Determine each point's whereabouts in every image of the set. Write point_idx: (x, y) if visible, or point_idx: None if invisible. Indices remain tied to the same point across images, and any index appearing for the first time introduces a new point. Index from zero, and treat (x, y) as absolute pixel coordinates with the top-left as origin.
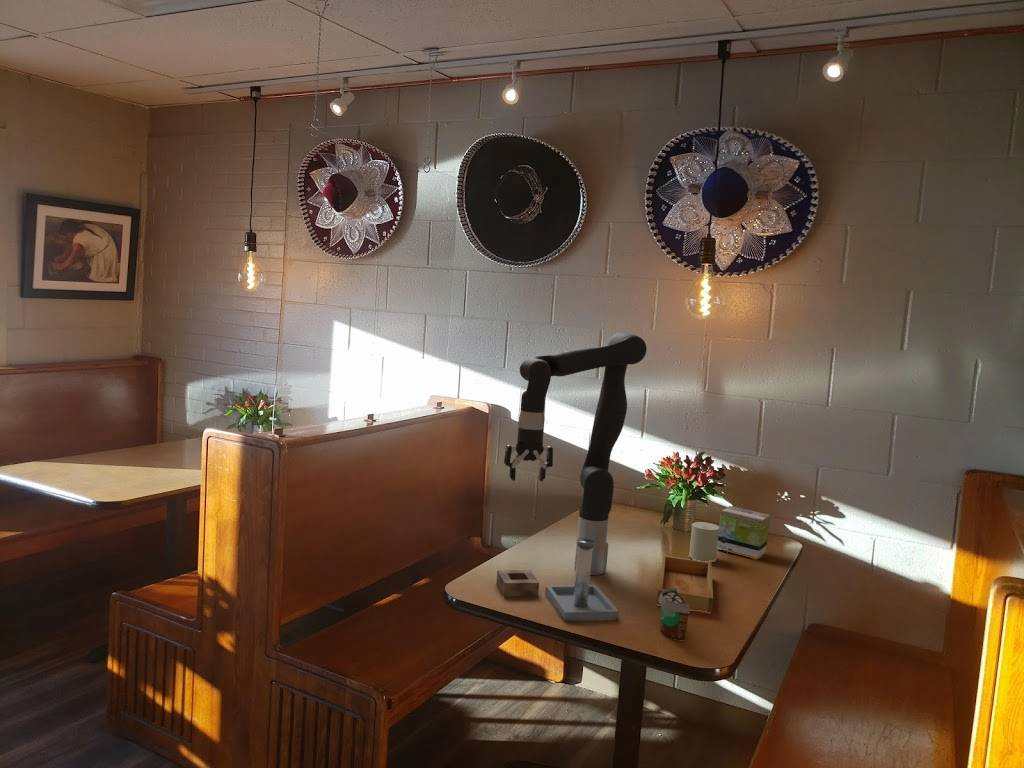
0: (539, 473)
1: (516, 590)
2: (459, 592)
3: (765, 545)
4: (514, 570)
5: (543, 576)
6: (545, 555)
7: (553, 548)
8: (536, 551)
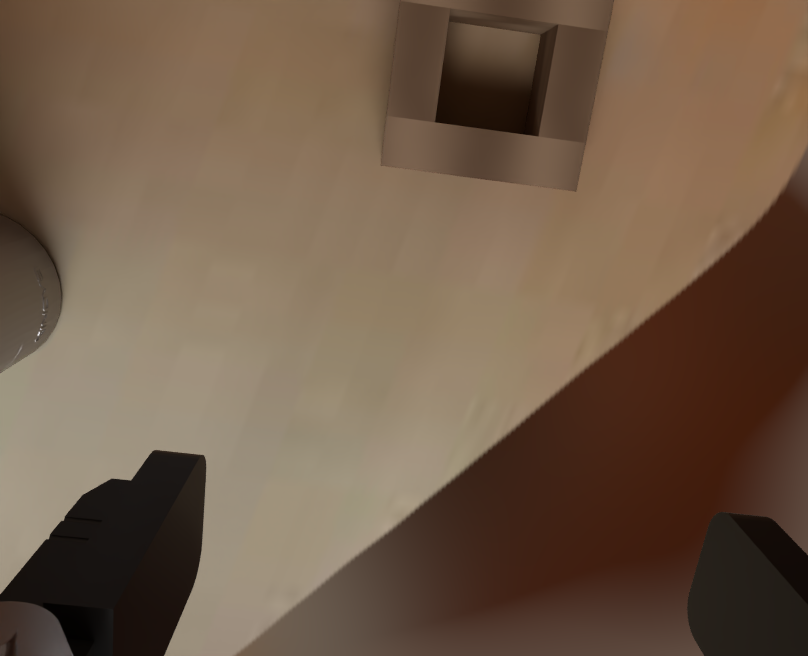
0: (162, 648)
1: None
2: (792, 100)
3: None
4: (477, 174)
5: (268, 243)
6: None
7: None
8: None
